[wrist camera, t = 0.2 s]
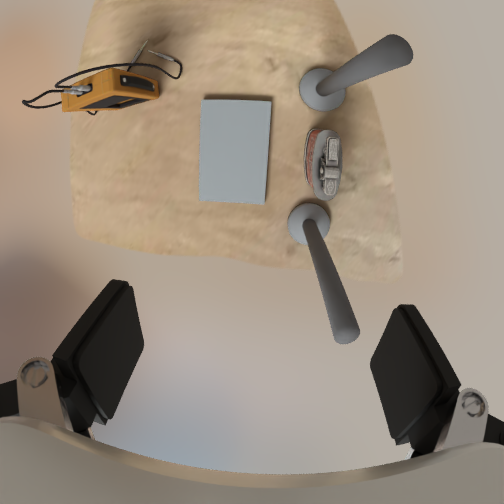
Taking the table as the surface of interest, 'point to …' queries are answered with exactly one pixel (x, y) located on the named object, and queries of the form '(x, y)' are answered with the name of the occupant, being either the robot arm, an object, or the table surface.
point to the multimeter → (107, 88)
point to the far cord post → (324, 268)
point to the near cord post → (353, 72)
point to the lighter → (323, 162)
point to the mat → (234, 150)
